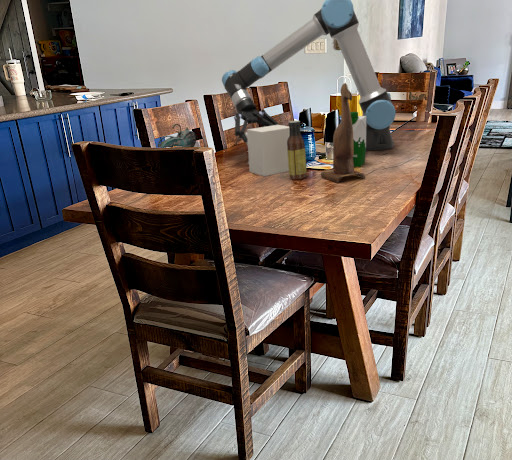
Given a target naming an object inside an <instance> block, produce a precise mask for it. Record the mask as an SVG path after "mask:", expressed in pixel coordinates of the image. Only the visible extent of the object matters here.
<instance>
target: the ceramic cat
mask: <svg viewBox="0 0 512 460" xmlns="http://www.w3.org/2000/svg"><path fill="white" fill-rule="evenodd" d="M176 126H178V127H179V129H180V130H175V132H176V133H177V134H176V136H173V135H165V136H163V137H161V138H160V139H159V140H158V143H157V147H162V148H164V147H173V146H182V147H194V148H195V145H196V144H197V143H196V142H197V136H196V133H195V132H194V131H192V130H190V129H189V128H188V127H187V126H185V129H184V130H182V127H181V125H180V124H178V123H176V124H173V126H172V130H174V129H175V127H176ZM165 138H166V139H165ZM162 140H163V141H162Z"/></svg>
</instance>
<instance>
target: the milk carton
mask: <svg viewBox="0 0 512 460" xmlns="http://www.w3.org/2000/svg"><path fill="white" fill-rule="evenodd" d="M350 113H351V120H352V126H353V145H354V146H353V151H354V154H353V164H354V168H361V167H362V166H363V165H365V164H366V163H365V162H366V152H367V150H366V116H363V115H361V116H360V115H359V112H358V111H350Z"/></svg>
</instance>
